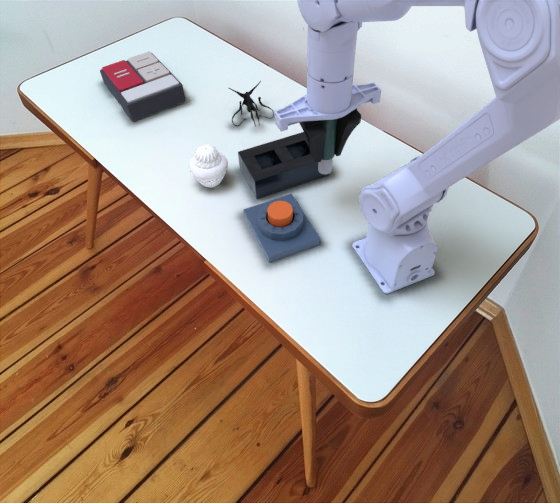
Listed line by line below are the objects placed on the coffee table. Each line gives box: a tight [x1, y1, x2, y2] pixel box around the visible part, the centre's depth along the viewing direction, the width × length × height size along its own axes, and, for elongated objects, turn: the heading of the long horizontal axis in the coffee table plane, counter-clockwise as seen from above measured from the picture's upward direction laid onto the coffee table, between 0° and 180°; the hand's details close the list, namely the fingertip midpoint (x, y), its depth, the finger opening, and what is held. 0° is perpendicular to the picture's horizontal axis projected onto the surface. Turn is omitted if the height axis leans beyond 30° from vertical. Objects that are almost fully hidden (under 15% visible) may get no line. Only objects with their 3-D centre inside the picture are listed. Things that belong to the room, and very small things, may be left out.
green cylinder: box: [318, 119, 337, 174], centre depth 72 cm, size 3×3×10 cm
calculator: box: [99, 51, 187, 122], centre depth 98 cm, size 11×4×15 cm
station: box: [242, 193, 321, 263], centre depth 76 cm, size 10×8×3 cm
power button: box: [267, 201, 293, 227], centre depth 74 cm, size 4×4×2 cm
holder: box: [237, 131, 331, 200], centre depth 83 cm, size 7×13×4 cm, turn 113°
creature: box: [228, 80, 275, 127], centre depth 92 cm, size 8×5×8 cm
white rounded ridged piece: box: [188, 144, 229, 189], centre depth 81 cm, size 6×6×7 cm
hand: (325, 154), depth 74 cm, fingers closed on green cylinder, 2 cm apart
